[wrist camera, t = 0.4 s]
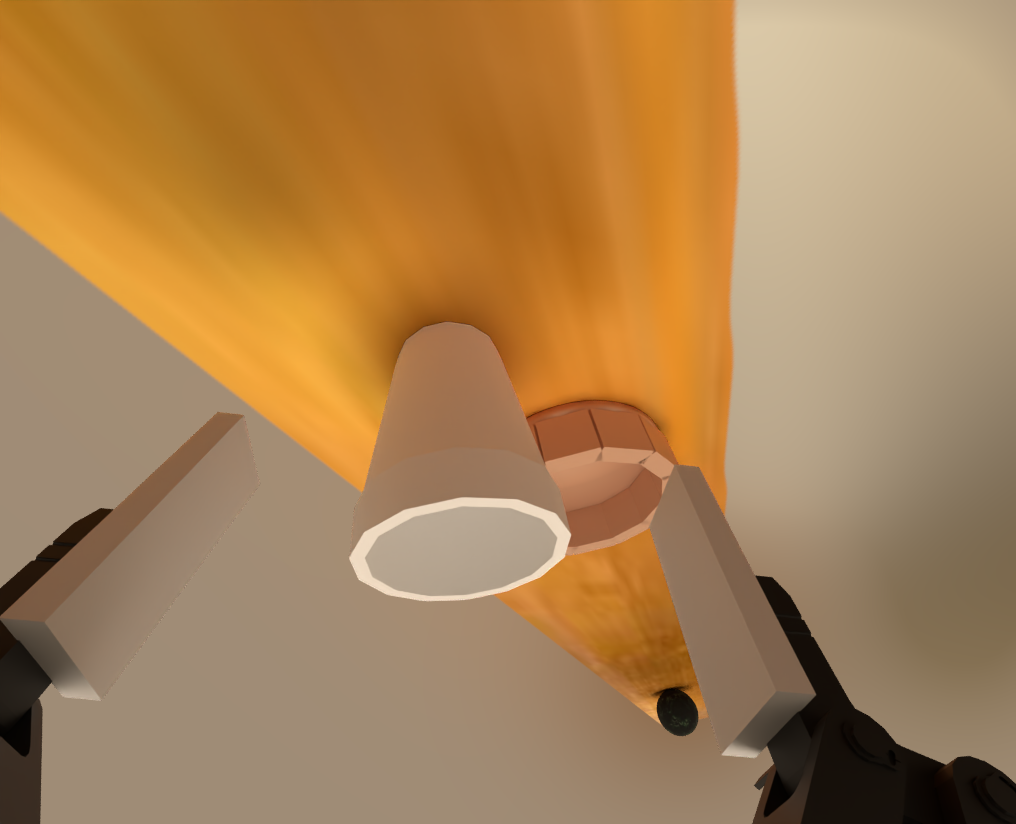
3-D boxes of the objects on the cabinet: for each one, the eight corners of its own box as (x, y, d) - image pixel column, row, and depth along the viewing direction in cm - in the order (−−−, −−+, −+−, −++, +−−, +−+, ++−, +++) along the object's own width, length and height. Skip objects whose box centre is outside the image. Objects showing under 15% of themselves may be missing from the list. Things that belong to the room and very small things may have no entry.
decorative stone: (695, 682, 117) (712, 728, 110) (679, 692, 124) (694, 736, 117) (659, 687, 115) (674, 734, 108) (645, 696, 122) (659, 741, 115)
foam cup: (543, 313, 27) (605, 502, 18) (502, 419, 33) (533, 597, 24) (376, 286, 24) (353, 493, 15) (366, 407, 30) (345, 603, 21)
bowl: (459, 432, 33) (463, 483, 30) (660, 377, 32) (686, 424, 29) (508, 525, 44) (514, 569, 41) (659, 487, 43) (677, 529, 40)
